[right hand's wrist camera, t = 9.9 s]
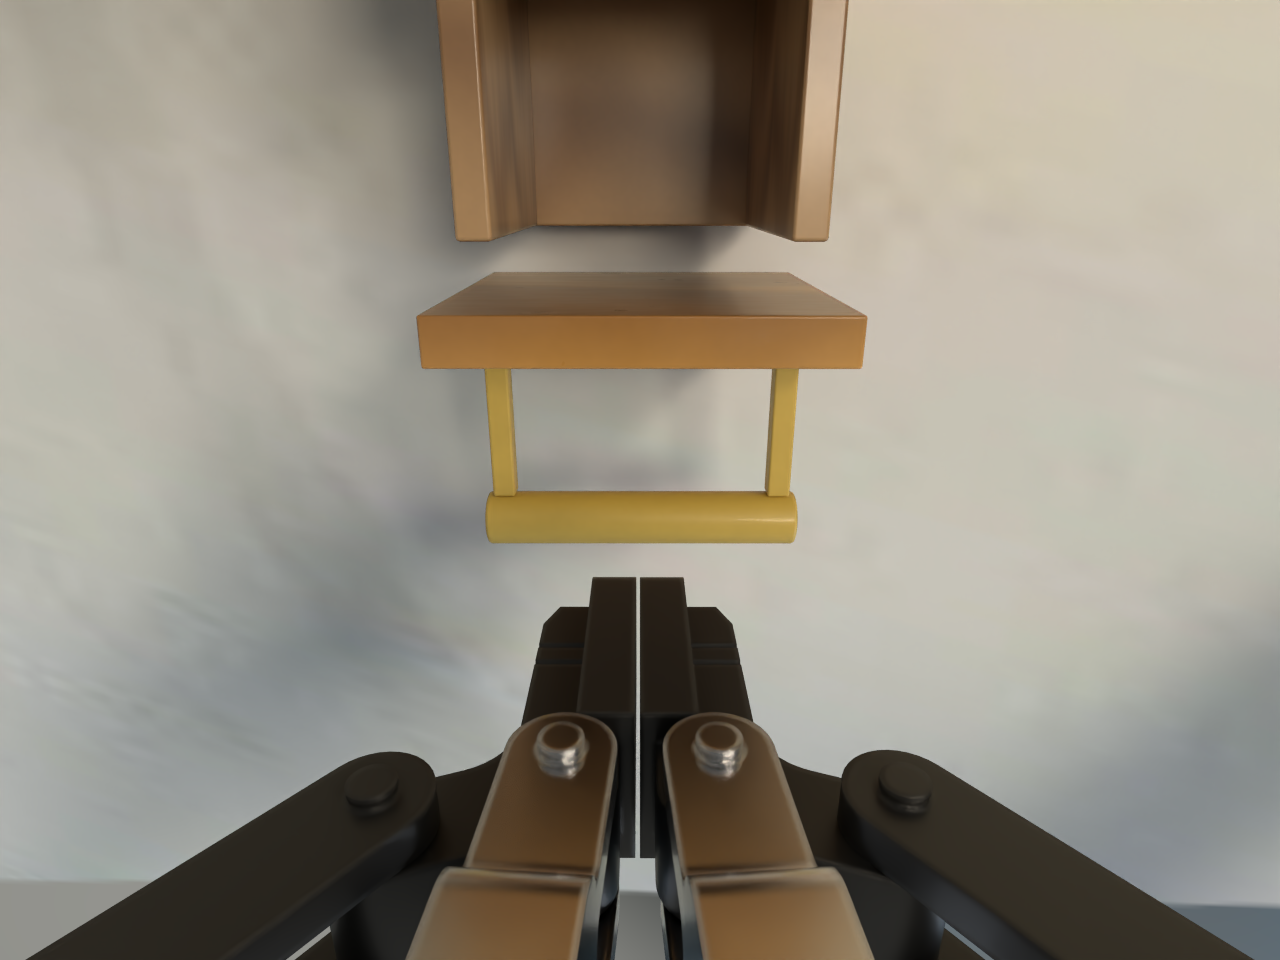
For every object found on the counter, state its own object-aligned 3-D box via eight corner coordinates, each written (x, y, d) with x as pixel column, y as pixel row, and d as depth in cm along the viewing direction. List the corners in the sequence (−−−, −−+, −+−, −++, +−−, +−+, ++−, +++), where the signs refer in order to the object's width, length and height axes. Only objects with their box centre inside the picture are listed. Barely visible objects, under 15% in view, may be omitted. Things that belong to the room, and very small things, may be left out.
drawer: (776, 461, 28) (839, 586, 19) (505, 460, 28) (443, 586, 19) (831, -333, 20) (981, -745, 11) (452, -333, 20) (304, -746, 11)
